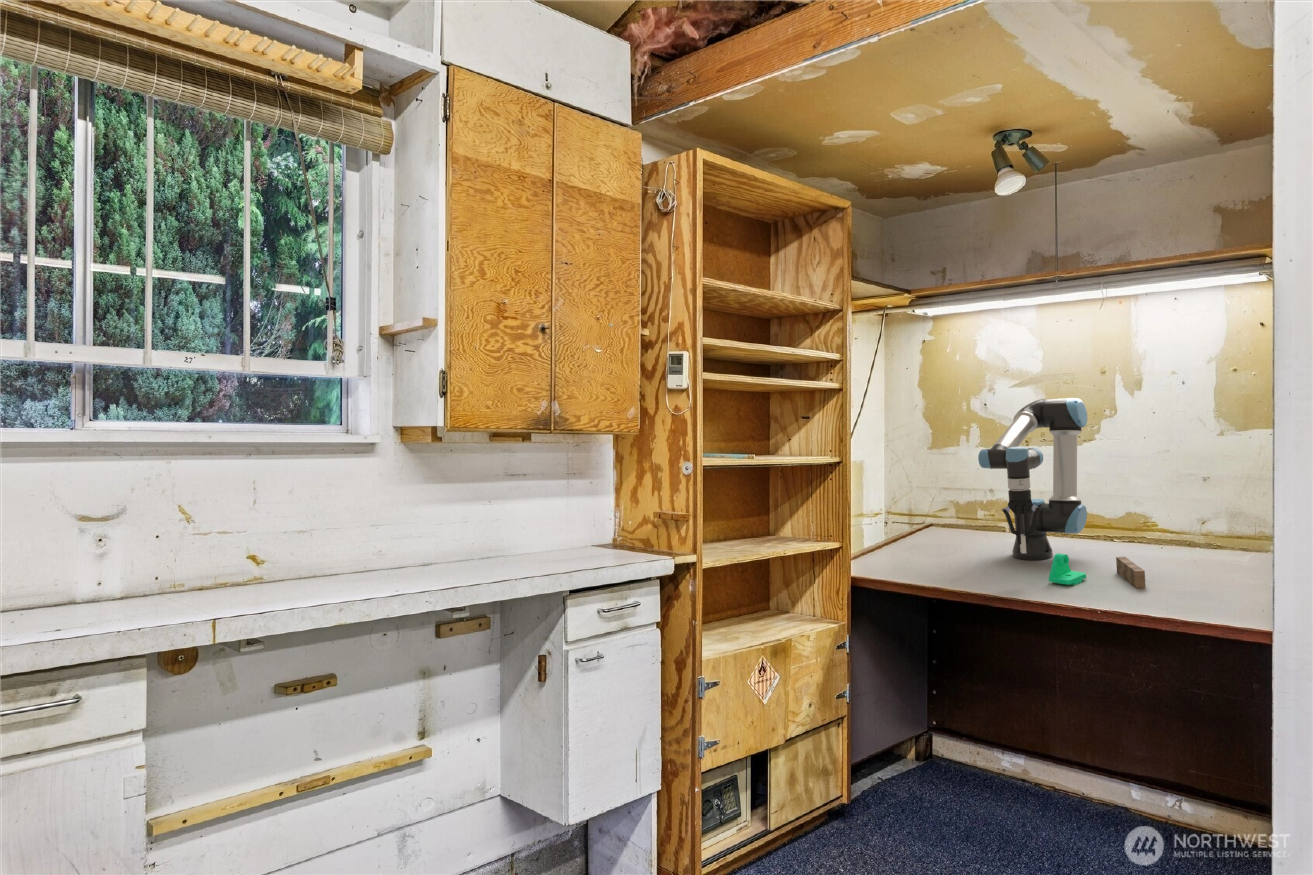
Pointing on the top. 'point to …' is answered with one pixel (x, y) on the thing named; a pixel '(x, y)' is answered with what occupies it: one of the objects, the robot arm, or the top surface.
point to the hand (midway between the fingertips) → (1023, 552)
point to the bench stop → (1131, 572)
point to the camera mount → (1064, 571)
